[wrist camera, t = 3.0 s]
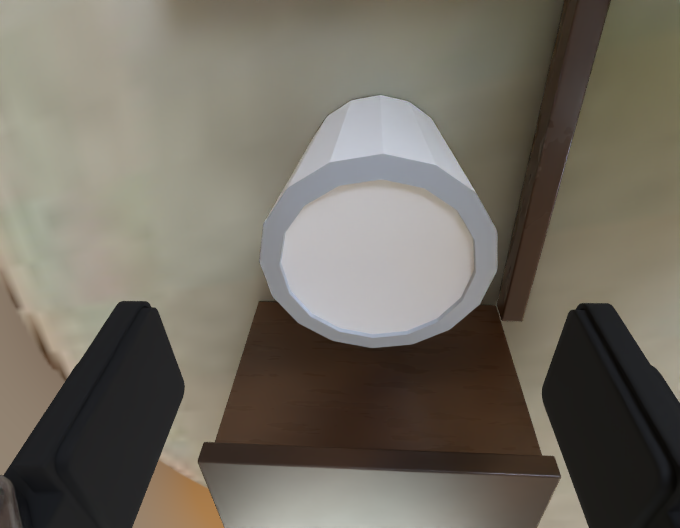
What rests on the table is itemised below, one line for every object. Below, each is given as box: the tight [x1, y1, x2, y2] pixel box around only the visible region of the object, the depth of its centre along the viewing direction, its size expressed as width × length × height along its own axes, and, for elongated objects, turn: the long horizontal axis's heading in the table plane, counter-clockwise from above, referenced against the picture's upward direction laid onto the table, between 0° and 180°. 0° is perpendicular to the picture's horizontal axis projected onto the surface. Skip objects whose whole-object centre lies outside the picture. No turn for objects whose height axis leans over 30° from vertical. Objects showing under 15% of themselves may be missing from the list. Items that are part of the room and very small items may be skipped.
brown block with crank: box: [198, 0, 611, 528], centre depth 18 cm, size 14×27×9 cm, turn 2°
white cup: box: [259, 95, 497, 348], centre depth 16 cm, size 7×7×7 cm
